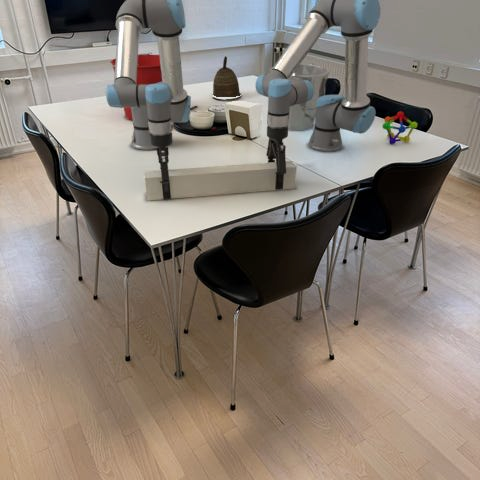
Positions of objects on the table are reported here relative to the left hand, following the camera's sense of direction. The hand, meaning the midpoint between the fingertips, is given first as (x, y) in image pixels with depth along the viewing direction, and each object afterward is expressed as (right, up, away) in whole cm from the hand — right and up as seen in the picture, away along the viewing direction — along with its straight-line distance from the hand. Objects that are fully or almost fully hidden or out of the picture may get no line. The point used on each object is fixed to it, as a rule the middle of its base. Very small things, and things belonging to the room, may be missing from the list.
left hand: (166, 194), depth 162 cm
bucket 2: (+56, +44, +72) cm, 101 cm away
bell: (+18, +74, +120) cm, 142 cm away
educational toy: (+101, +29, +49) cm, 116 cm away
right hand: (+40, +5, +6) cm, 41 cm away
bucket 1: (-24, +53, +86) cm, 104 cm away
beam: (+20, +2, +4) cm, 21 cm away
